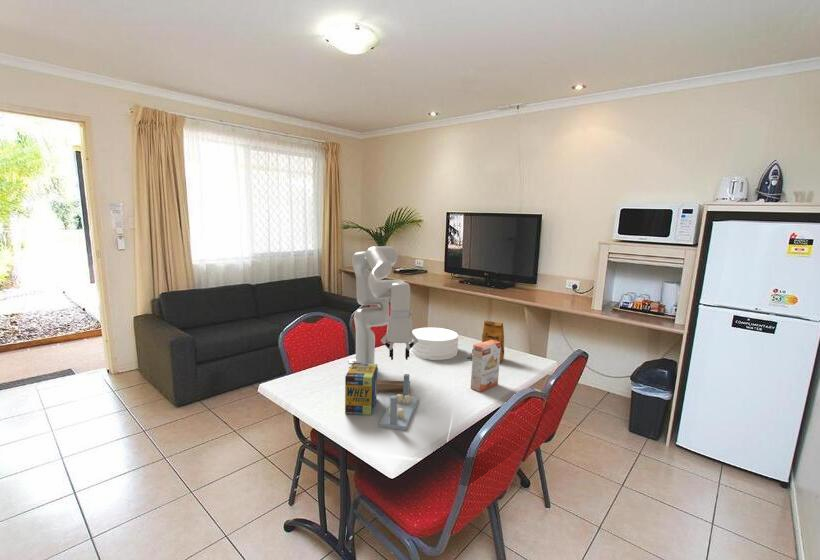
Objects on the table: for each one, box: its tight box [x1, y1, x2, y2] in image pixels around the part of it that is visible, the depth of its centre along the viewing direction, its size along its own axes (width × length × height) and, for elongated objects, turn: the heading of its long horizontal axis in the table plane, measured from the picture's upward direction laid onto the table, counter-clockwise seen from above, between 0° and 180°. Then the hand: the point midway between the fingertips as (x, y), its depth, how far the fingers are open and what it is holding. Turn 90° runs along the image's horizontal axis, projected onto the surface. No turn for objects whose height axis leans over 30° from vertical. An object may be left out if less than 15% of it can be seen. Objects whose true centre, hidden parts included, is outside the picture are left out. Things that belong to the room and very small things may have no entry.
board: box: [377, 379, 411, 394], centre depth 171 cm, size 4×16×4 cm, turn 88°
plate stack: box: [409, 327, 459, 361], centre depth 224 cm, size 28×28×12 cm
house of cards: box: [466, 349, 473, 362], centre depth 213 cm, size 9×9×8 cm
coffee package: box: [481, 320, 505, 364], centre depth 213 cm, size 10×12×22 cm
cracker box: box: [470, 340, 501, 393], centre depth 177 cm, size 14×6×21 cm, turn 133°
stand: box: [378, 373, 419, 431], centre depth 150 cm, size 10×24×12 cm, turn 168°
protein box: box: [344, 363, 378, 416], centre depth 155 cm, size 10×15×16 cm
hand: (399, 358), depth 153 cm, fingers open, 5 cm apart
